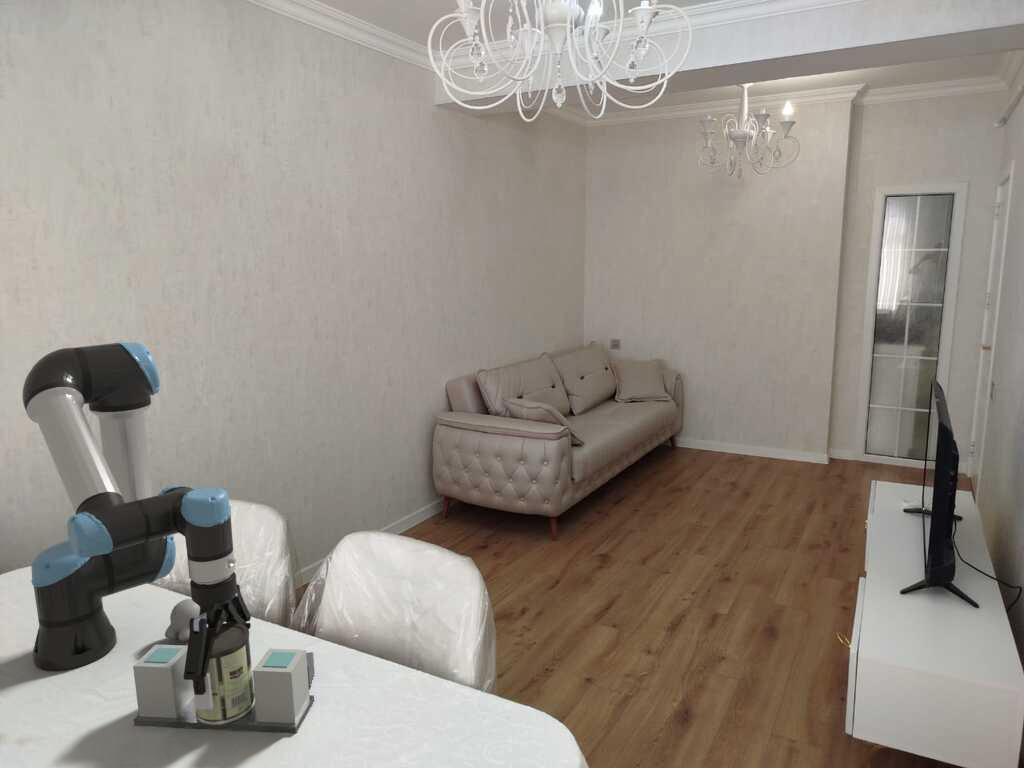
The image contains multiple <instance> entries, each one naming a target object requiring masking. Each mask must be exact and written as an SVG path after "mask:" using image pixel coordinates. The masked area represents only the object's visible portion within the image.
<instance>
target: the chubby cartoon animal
mask: <svg viewBox="0 0 1024 768" xmlns="http://www.w3.org/2000/svg"><path fill="white" fill-rule="evenodd" d="M199 613H200V606H199V605H198V604H196V603H195V602H194V601H193V600H192V598H185V599H183V600H180V601H179V602H177V603H176V604H175V606H173V608H172V610H171V612H170V617H169V619H170V624H169V625H168V627H167V629H166V630H165V633H164V636H165V638H167V639H173V640H175V639H176V638H177V639H178V640H179V641H183V642H186V641H187V642H188V641H189V634H190V629H189V621H190V619H191V618H198V617H199Z"/></svg>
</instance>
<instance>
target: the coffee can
mask: <svg viewBox="0 0 1024 768" xmlns="http://www.w3.org/2000/svg"><path fill="white" fill-rule="evenodd" d="M207 630H213V629H209V628H207ZM251 657H252V656H251V647H250V629H248V628H247V627H246V626H244V625H242V624H238V623H226V622H224V623H223V624H222V625H221V627H220V631H219V634H218V635H217V636H216V637H215V640H214V644H213V648H212V653H211V657H210V661H209V665H208V670H207V673H210V679H211V689H212V699H213V708H212V709H196V717H197V719H198V720H199V721H200V722H202V723H204V724H209V725H221V724H226V723H230V722H233V721H235V720H237V719H239V718H241V717H243V716H244V715H246V714H247V713H248V712H249V711H250V710H251V709H252V708H253V706H254V704H255V697H254V681H253V669H252V658H251ZM192 681H193V680H192ZM193 689H194V686H193ZM194 698H195V693H194ZM195 707H196V703H195Z"/></svg>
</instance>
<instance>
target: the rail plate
mask: <svg viewBox="0 0 1024 768" xmlns="http://www.w3.org/2000/svg"><path fill="white" fill-rule="evenodd" d="M254 697H255V693H254ZM313 702H314V703H315V695H310V694H309V700H308V702H307V704H306V706H305V707H304V709H303V711H302V712H301V714H300V716H299V718H298V719H297V721H296V723H278V722H257V715H256V704H254V706H253V708H252V709H251V710H250V711H249V712H248V713H247V714H246V715H244V716H243V717H241V718H239V719H237V720H235V721H233V722H230V723H226V724H221V725H209V724H204V723H202V722H200V721H199V720H198V719H197V717H196V707H195V698H194V697H193V699H192V700H191V701H190V702H189V703H188V705H187V706H186V707H185V708H184V709H183V711H182V712H181V713H180V714H179V715H178V717H177V718H166V717H143V716H139V713H138V714H137V715H136V716H135V717H134V718H133V719H132V721H133V726H135V727H150V728H151V727H153V728H154V727H155V728H156V727H157V728H172V729H173V728H174V729H175V728H176V729H177V728H178V729H197V730H219V731H221V730H222V731H237V732H238V731H241V732H243V731H244V732H264V733H283V734H285V733H286V734H287V733H288V734H297V733H298V731H299V729H300V728H301V725H302V724H303V722H304V720H305V719H306V717H307V715H308V713H309V712H310V710H311V708H312V706H313V705H312V704H314V703H313Z"/></svg>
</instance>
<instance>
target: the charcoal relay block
mask: <svg viewBox="0 0 1024 768" xmlns="http://www.w3.org/2000/svg"><path fill="white" fill-rule="evenodd" d="M306 658H307V672H308V685H309V689H310V688H312V685H313V682H312V680H313V681H314V678H315V675H314V674H315V664H314V663H315V661H314V652H313V651H312V652H306ZM313 677H314V678H313ZM311 684H312V685H311ZM310 690H311V689H310Z"/></svg>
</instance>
